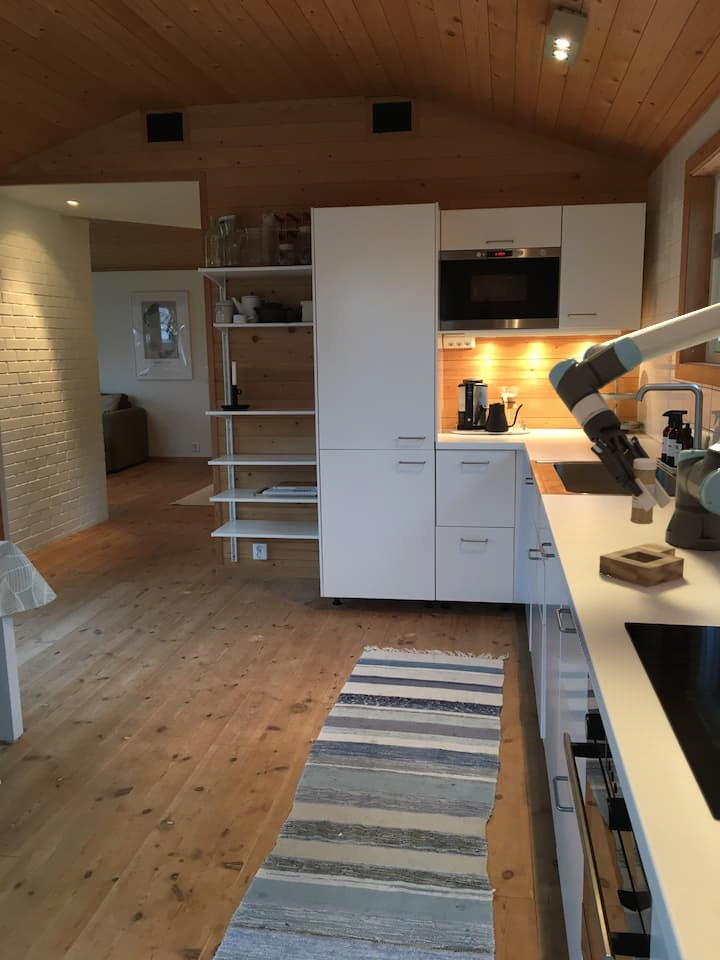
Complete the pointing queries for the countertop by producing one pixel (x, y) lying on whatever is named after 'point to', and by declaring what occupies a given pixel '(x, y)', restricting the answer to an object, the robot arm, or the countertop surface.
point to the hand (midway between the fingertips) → (659, 505)
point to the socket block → (641, 566)
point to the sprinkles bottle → (646, 474)
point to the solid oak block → (658, 548)
